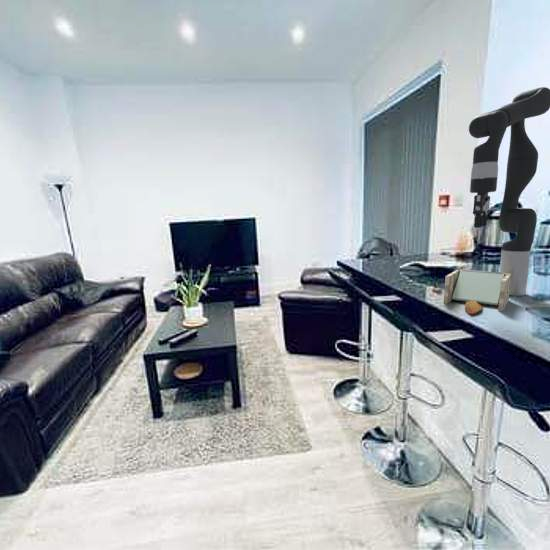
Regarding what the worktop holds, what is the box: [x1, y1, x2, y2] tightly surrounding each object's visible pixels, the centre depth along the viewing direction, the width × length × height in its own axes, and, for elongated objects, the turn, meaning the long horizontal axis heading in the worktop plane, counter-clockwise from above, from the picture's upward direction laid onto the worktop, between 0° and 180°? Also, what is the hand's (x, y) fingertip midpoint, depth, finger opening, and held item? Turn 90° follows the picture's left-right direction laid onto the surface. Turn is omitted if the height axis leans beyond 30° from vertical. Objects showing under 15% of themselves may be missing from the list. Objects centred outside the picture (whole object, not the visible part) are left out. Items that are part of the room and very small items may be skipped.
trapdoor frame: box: [443, 269, 511, 312], centre depth 121 cm, size 17×18×10 cm
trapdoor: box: [452, 269, 504, 306], centre depth 122 cm, size 15×14×1 cm
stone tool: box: [464, 300, 484, 315], centre depth 111 cm, size 5×2×15 cm
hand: (480, 226), depth 113 cm, fingers open, 8 cm apart
